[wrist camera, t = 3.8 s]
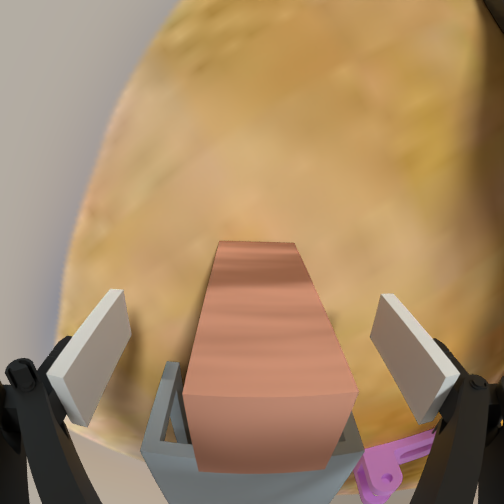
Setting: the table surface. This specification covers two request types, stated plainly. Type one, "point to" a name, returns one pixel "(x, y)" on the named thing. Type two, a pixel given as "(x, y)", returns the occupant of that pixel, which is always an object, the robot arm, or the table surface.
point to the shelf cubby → (227, 484)
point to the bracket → (388, 466)
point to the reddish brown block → (265, 367)
